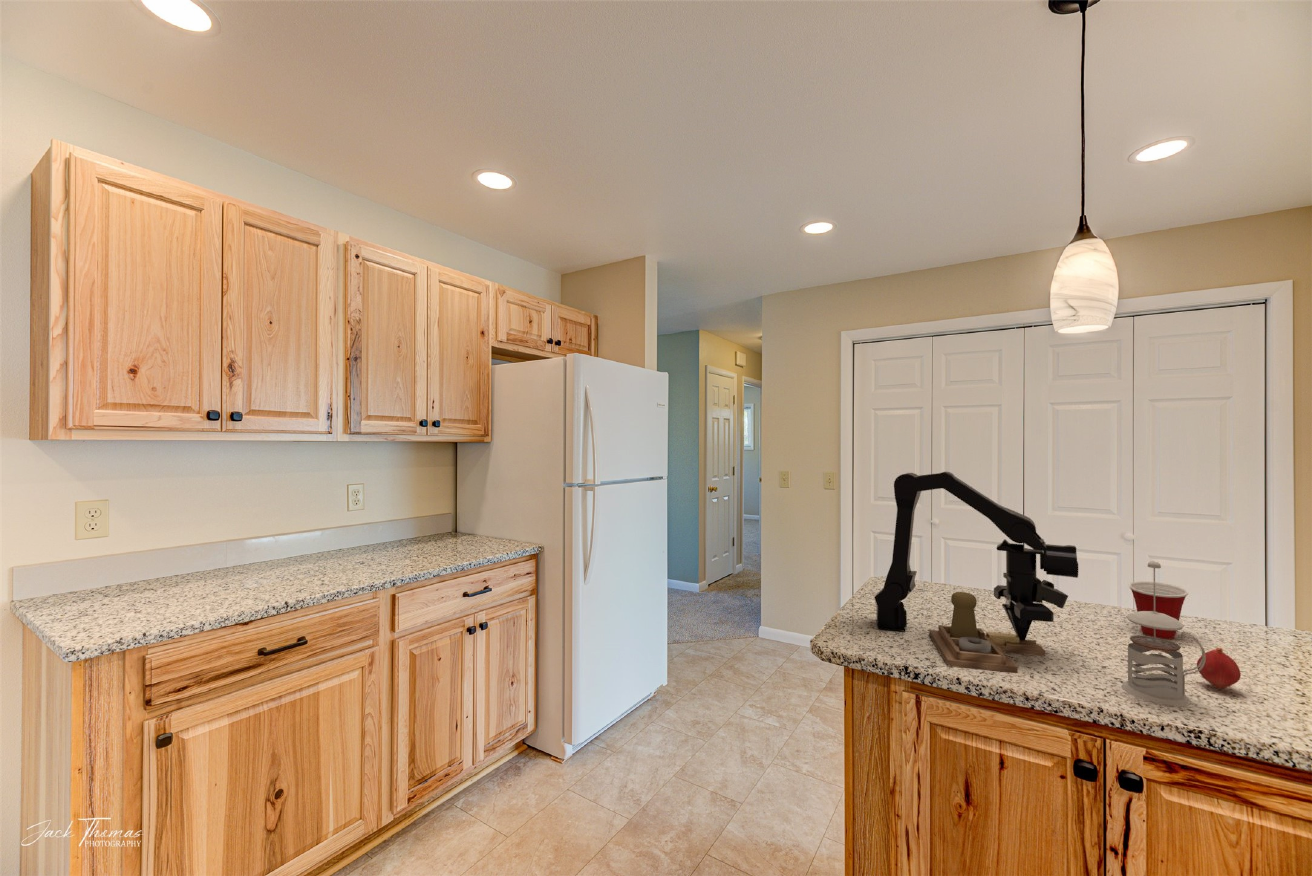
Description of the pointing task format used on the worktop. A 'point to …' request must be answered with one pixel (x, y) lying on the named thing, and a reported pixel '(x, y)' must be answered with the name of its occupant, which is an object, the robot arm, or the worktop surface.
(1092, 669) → the worktop surface
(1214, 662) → the onion
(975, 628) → the olive pepper mill
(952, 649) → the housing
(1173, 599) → the plastic cup
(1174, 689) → the french press
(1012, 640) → the bar
